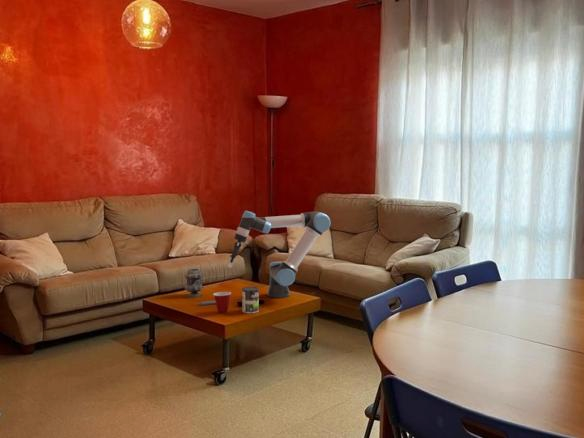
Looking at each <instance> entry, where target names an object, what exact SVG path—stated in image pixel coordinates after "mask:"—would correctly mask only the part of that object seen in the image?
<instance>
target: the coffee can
mask: <svg viewBox="0 0 584 438" xmlns="http://www.w3.org/2000/svg"><path fill="white" fill-rule="evenodd" d="M259 290H260V288H259V287H257V286H244V287H242V288H241V303H242V304H241V305H242V306H241V308H242V309H241V312H242V313H244V314H255V313H256V314H257V313H259V311H260V309H259V307H260V304H259V302H260V301H259V300H260V298H259V297H260V296H259V295H260V294H259V293H260V291H259Z"/></svg>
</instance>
